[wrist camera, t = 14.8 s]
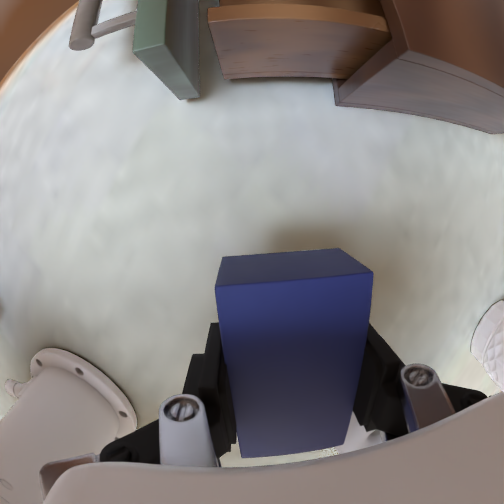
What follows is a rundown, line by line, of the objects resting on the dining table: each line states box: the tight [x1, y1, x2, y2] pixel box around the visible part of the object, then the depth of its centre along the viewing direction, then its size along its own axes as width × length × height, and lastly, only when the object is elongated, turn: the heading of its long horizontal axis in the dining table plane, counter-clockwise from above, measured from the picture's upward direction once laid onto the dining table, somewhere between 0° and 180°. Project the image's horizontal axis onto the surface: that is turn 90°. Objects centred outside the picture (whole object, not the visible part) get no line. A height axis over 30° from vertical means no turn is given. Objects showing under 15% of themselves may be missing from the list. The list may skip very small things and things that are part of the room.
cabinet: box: [332, 0, 504, 134], centre depth 8 cm, size 15×15×9 cm
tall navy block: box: [215, 248, 374, 458], centre depth 9 cm, size 8×4×3 cm, turn 4°
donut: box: [335, 412, 382, 454], centre depth 19 cm, size 10×4×10 cm
